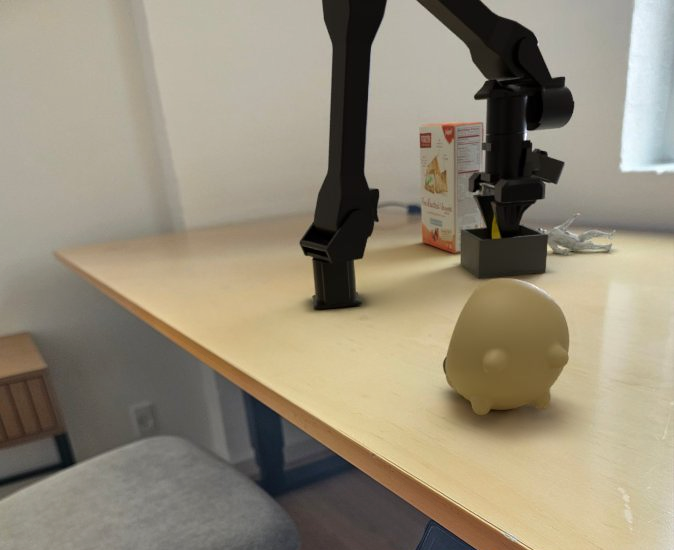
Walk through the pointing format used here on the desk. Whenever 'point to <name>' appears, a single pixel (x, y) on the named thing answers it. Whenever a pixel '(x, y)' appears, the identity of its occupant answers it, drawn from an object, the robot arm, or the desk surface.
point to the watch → (495, 230)
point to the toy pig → (507, 346)
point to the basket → (504, 252)
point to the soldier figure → (574, 238)
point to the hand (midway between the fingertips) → (501, 245)
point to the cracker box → (449, 181)
